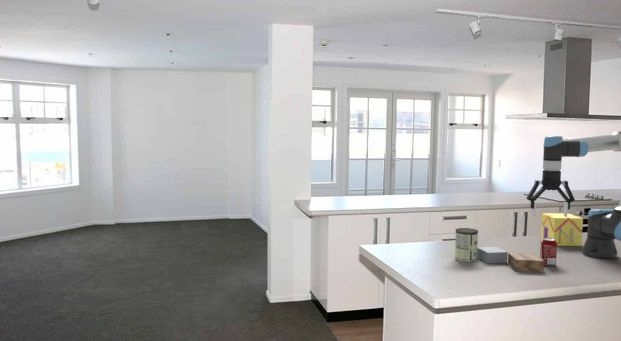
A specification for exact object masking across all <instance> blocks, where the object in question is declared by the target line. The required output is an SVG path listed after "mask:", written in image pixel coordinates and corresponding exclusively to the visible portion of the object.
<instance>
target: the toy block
mask: <svg viewBox="0 0 621 341" xmlns="http://www.w3.org/2000/svg"><path fill="white" fill-rule="evenodd" d="M583 224H584V218H582V217H580V216H577V215H574V214H572V213H568V214H567V217H565V216H563V212H562V213H560V212H559V213H557V212H556V213H554V212H552V213H550V212H549V213H544V212H543V213H541V226H540V228H541V229H540V230H541V231H540V240H541V241H542V240H543V238H553V239H556V243H557V247H558V246H564V247H565V246H566V247H568V246H571V247H572V246H573V247H574V246H575V247H576V246H577V247H582V246H583V245H582V243H583V242H582V241H583Z"/></svg>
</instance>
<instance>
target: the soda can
mask: <svg viewBox="0 0 621 341" xmlns="http://www.w3.org/2000/svg"><path fill="white" fill-rule="evenodd" d="M539 250H540V252H539V257H540V258H541V259H543V260H544V266H547V267H553V266H555V265H557V255H558V254H557V253H558V252H557V250H558V246H557V243H556V239H553V238H543V240H541V241H540V248H539Z"/></svg>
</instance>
